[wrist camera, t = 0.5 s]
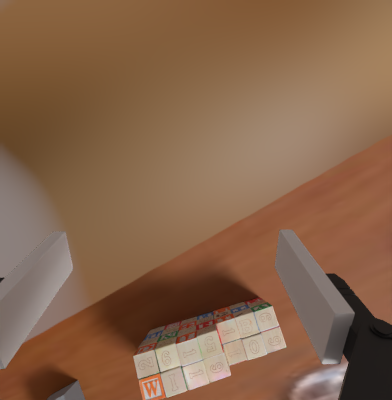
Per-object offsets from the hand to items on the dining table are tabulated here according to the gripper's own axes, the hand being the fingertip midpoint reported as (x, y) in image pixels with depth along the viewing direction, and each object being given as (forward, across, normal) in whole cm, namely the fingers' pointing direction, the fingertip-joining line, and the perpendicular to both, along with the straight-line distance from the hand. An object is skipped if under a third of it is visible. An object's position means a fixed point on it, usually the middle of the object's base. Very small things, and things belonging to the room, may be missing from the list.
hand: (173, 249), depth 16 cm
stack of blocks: (+22, -4, +31) cm, 38 cm away
